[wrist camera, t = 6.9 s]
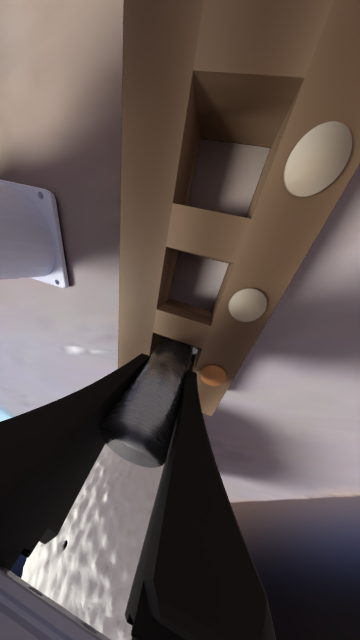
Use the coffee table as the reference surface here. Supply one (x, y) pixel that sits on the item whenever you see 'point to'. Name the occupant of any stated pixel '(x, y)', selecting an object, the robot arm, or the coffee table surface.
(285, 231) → the pin board
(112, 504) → the white textured round lump
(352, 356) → the coffee table surface
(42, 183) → the coffee table surface
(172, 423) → the pin
